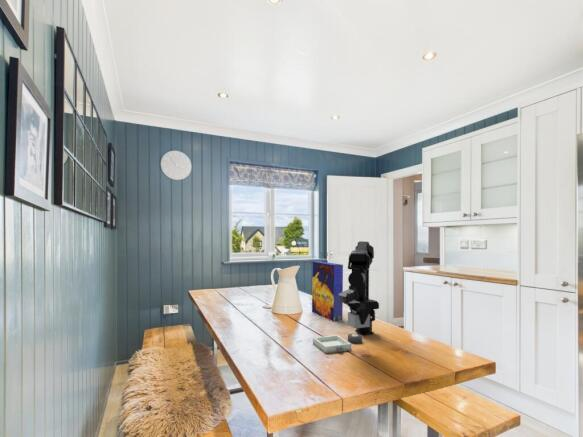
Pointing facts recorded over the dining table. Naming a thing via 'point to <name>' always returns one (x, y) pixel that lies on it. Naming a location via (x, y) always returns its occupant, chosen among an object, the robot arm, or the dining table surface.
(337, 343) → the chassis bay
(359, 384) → the dining table surface
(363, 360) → the dining table surface
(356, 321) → the grey stepped block
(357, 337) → the spare wheel
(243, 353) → the dining table surface
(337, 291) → the cereal box
